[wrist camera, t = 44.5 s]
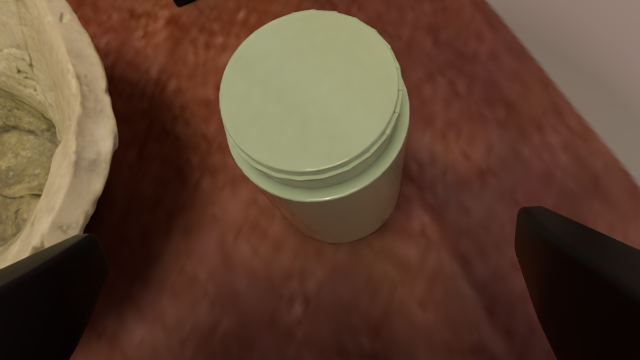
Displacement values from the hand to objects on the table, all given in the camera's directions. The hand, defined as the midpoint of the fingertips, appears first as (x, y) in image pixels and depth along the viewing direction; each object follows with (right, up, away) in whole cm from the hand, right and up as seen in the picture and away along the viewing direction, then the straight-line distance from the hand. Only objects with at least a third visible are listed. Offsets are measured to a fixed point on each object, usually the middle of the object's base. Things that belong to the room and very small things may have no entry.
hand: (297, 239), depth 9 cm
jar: (+1, +1, +12) cm, 12 cm away
